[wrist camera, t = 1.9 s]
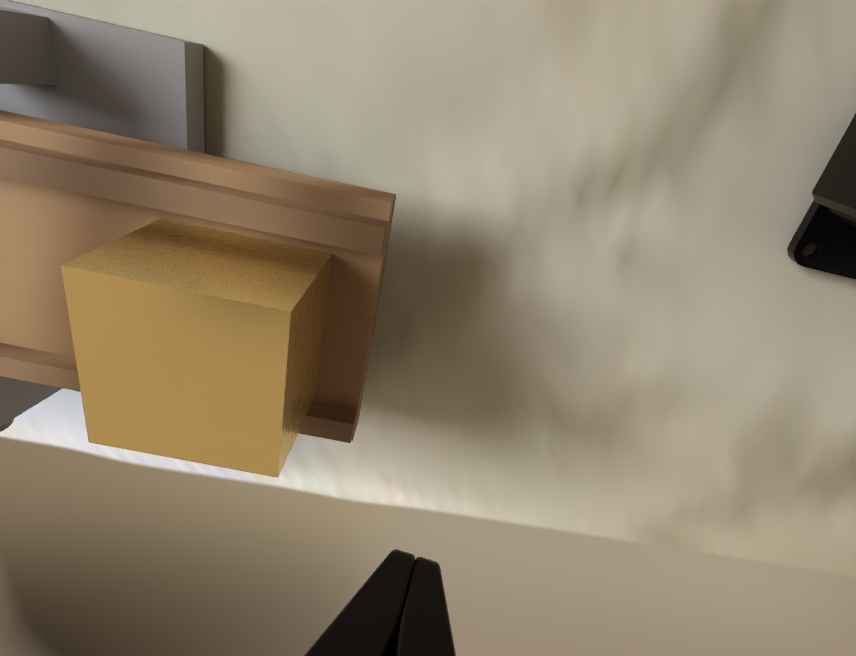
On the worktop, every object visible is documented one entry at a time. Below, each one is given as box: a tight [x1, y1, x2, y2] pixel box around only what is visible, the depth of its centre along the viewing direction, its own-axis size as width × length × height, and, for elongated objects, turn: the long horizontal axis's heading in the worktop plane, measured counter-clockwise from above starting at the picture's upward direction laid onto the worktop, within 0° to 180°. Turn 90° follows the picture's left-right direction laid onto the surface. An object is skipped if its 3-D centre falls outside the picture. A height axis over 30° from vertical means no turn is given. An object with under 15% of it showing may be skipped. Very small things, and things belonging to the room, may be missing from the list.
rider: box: [61, 218, 332, 477], centre depth 14 cm, size 5×5×4 cm
